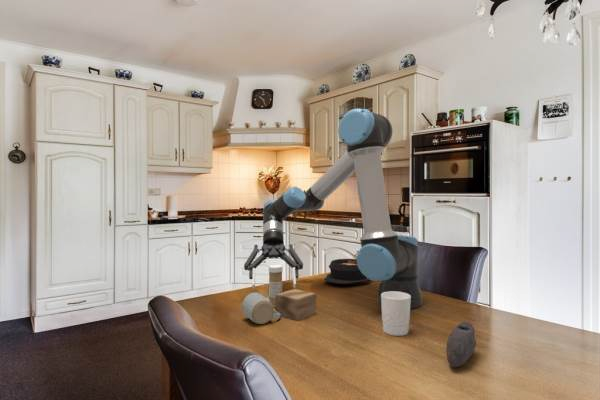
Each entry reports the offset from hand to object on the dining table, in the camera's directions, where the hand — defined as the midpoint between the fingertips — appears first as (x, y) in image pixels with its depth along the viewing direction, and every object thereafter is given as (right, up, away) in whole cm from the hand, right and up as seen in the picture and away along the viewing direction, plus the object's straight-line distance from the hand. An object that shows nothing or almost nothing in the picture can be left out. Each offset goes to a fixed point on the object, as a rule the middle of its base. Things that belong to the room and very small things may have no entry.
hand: (274, 286), depth 128 cm
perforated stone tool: (+45, -8, -40) cm, 61 cm away
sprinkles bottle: (0, -7, 0) cm, 7 cm away
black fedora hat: (+29, -6, +35) cm, 46 cm away
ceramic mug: (-3, -7, -14) cm, 16 cm away
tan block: (+7, -7, -8) cm, 13 cm away
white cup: (+35, -7, -23) cm, 42 cm away
